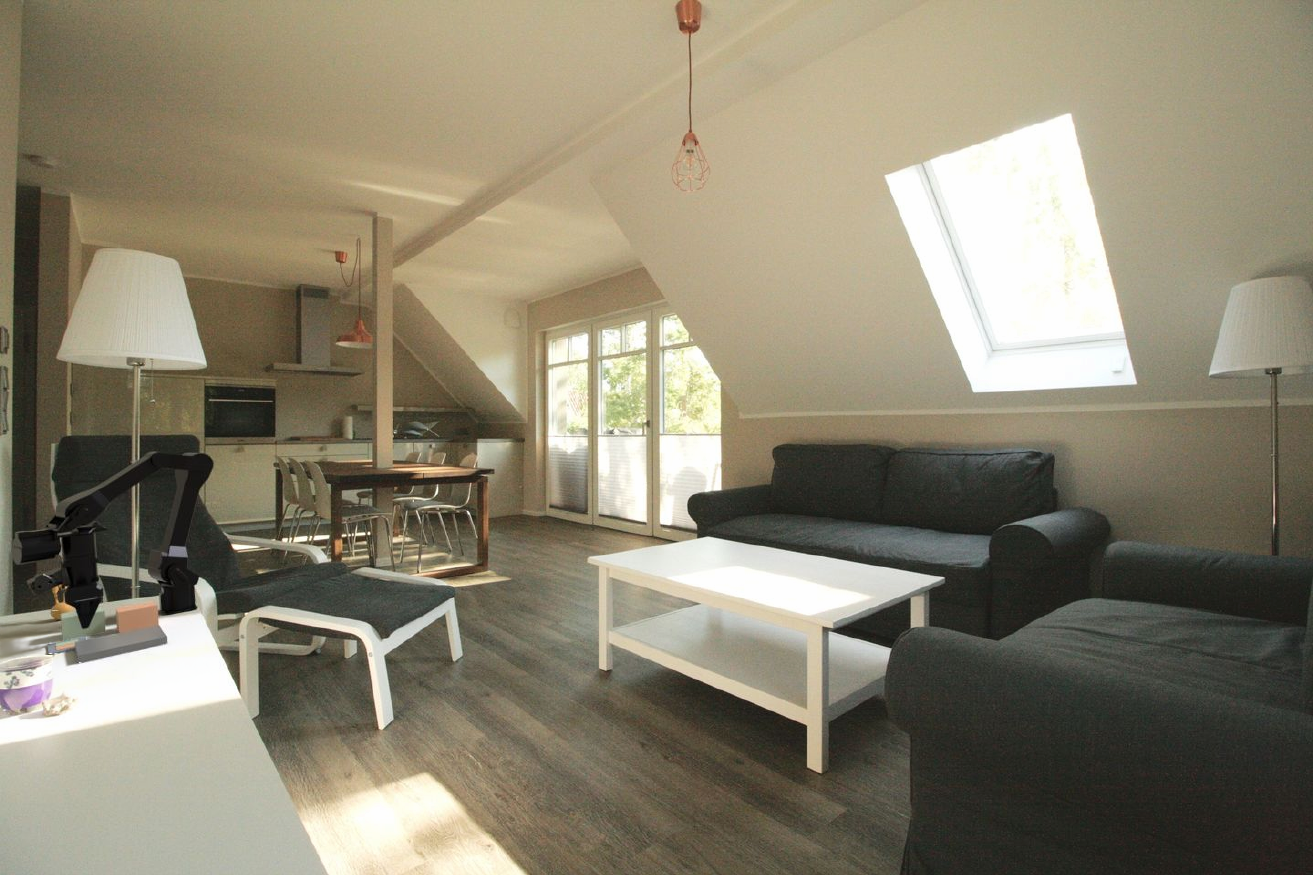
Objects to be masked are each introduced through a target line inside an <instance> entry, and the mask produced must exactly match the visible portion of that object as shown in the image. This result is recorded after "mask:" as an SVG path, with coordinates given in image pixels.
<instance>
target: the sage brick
mask: <svg viewBox="0 0 1313 875" xmlns="http://www.w3.org/2000/svg"><path fill="white" fill-rule="evenodd" d="M105 613H106V612H105V609H104V607H103V606H98V608H97V610H96V612H95V615H94V617H93V619H92V621H91V624H90V626H89V628H86V629H82V627H81V624H80V621H79V618H78V615H77V612H76V610H73V612H67V613H62V614H61V636H62V641H65V640H70V639H75V638H80V637H88V636H94V635H95V636H96V635H98V634H99V635H100V634H105V633H106V630H107V628H106V614H105Z"/></svg>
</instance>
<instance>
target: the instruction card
mask: <svg viewBox="0 0 1313 875" xmlns="http://www.w3.org/2000/svg"><path fill="white" fill-rule="evenodd" d="M86 637H87V636H85V637H80V638H75V639H70V640H65V641H63V640H62V641H57V642H52V643H51V642H50V643H47V650H48V654H49V653H57V654H60V653H59V652H62V653H66V652H70V651H75V642H77V641H82V640H87V638H86Z"/></svg>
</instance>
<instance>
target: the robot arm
mask: <svg viewBox="0 0 1313 875" xmlns="http://www.w3.org/2000/svg"><path fill="white" fill-rule="evenodd" d="M214 466H215V462H214V460H213V459H212V457H211V456H210V455H209V454H206V453H203V452H186V453H183V454H174V453H165V452H163V451H149V452H147V453H145V454H144V455H143V457H141V458H139V459H137V460H136V461H134V462H133V463H131V464H129V465H128V466H127V467H125V468H124V469H122V470H121V471H119V472H117V473H116V474H114V475H112V476H111V477H110V478H108V479H106V480H105V481H103V482H101V483H100V484H98V485H97V486H95V487H94V486H93V488H91V489H90V488H89V489H87V490H84V491H81V492H79V493H76V494H74V495H71V496H69V497H67V498H65V499H63V500H61V501H60V502H59V503H57V504H56V506H55V509H54V510H55V511H54V514H53V516H52V517H51V519H50V520H49V521H48V522H47V524H45V526H44V527H43V528H41V529H37V530H36V529H35V530H27V531H26V530H21V531H15V532H14V539H13V540H12V546H11V548H10V549H11V550H10V551H11V556H12V560H13V562H14V564H15V565H17V566H18V565H25V564H29V563H36V562H43V561H49V560H54V559H55V558H56V556H59V555H60V553H61V561H59V565H60V566H59V567H57V568H54V569H51V570H49V571H46V572H42V573H41V574H39V575H35V576H33V577H31V578H29V579H28V580H27V581H26V584H27V586H28V588H29V589H30V590H31V592H32V593H33V595H34V596H35V597H36V596H40V595H42V594H45V592H47V591H49V590H51V589H52V588H54V587H57V586H59V585H61V587H60V589H61V588H62V590H61V591H62V593H63V594H64V600H65V603H66V604H67V605H70V606H72V607H73V609H75V611H76V612H77V615H78V618H79V621H80V624H81V627H82V629H86V628H89V626H90V624H91V621H92V619H93V617H94V615H95V612H96V610H97V608H98V607H100V606H99V605H100V604H101V602H102V599H103V597H104V595H105V594H104V586H103V584H102V583H100V576H99V571H98V570H99V569H98V563H99V559H98V555H97V554H98V553H97V541H96V540H97V539H96V538H97V536H96V534H97V533H101V532H102V533H103V532H107V531H108V528H107V527H106V526H103V525H101V523H99V522H98V521H95V520H96V519H97V518H99V516H100V515H102V513H104V512H105V511H106V510H107V508H108V507H109V506H110V504H111V503H112V502H113V501H114V500H115V499H116V498H118V497H120V496H121V495H123V494H124V493H125V492H127V491H128V490H131V489H133V487H135V486H137V485H138V484H139V483H140V482H142V481H144V480H145V479H147V478H149V477H150V476H152V475H154V474H155V473H156V472H158V471H159V470H161V469H165V470H166V469H167V470H174V477H175V482H176V485H177V486H176V491H175V493H174V494H175V496H174V498H173V502H172V507H171V509H170V514H169V518H168V522H167V526H166V529H165V534H164V537H163V541H162V543H161V545H160V546H159V548H158V549H157V550H155V549H150V551H149V554H148V555H149V558H148V561H147V563H146V564H145V567H146V568H147V572H148V575H149V577H150V578H152V579H154V580H156V582H157V583H158V586H161V592H159V593H158V601H159V610H160V611H161V612H162V613H163V614H164V615H172V614H177V613H181V612H187V611H192V610H197V609H198V605H197V604H196V603H197V602H196V588H195V587H196V586H197V585H198V583H199V578H200V575H198V574H196V573H195V572H194V571H192V570H190V569H189V568H188V567H189V555H188V549H187V541H188V538H189V535H190V534H189V533H190V531H191V530H190V529H191V526H192V521H193V518H194V514H195V510H196V507H197V501H198V498H199V494H200V491H201V489H202V488H203V486H204V485H205V484H206V482H207V481H209V480H208V479H209V478H210V475H211V473H212V471H213V469H214ZM66 586H67V588H66V589H65V587H66ZM52 590H53V589H52Z"/></svg>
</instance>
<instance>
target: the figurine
mask: <svg viewBox="0 0 1313 875" xmlns="http://www.w3.org/2000/svg"><path fill="white" fill-rule="evenodd" d="M66 588H67V586H66V587H65V589H66ZM59 589H61V591H62V588H61V585H59V586H57V587H54V588H52V593H53V598H55V600H54V601H55V604H54V605H53V606H52V608H51V609H50V616H51V617H52V618H53V619H55V620H58V621H59V620H61V614H62V613H67V612H73V611H74V607H72V606H70V605H67V604H66V603H65V600H64V593H63V594H62V600H63V601H62V602H60V601H59V597H58V596H59V595H58V594H57V593H58V592H59ZM52 610H58V611H52Z"/></svg>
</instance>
